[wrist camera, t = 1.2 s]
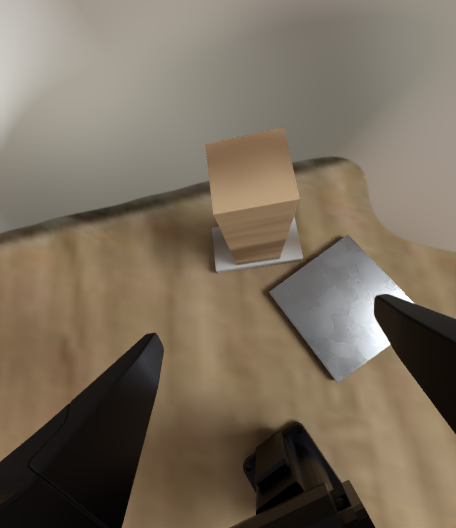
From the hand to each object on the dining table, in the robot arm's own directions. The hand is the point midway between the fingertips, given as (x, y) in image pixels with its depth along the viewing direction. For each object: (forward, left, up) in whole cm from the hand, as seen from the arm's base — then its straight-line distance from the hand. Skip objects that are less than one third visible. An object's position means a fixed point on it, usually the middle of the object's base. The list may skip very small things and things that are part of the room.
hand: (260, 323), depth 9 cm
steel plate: (-3, -7, -14) cm, 16 cm away
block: (+7, -4, -14) cm, 16 cm away
